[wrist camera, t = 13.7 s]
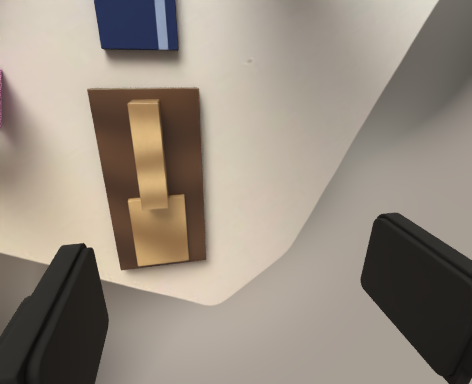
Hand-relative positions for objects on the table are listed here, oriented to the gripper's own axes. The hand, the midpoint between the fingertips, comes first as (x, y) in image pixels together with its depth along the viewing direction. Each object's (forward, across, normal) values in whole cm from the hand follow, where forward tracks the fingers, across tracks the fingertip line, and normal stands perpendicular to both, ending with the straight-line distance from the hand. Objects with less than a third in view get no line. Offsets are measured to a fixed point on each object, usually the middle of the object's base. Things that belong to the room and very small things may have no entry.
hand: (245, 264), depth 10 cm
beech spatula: (+28, +5, +8) cm, 29 cm away
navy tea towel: (+30, +5, -12) cm, 32 cm away
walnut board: (+30, +5, +8) cm, 31 cm away
